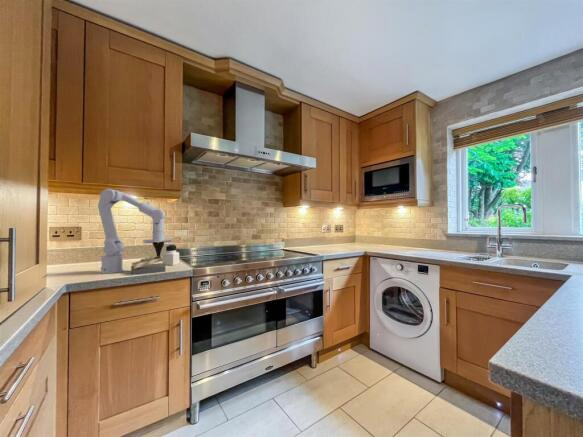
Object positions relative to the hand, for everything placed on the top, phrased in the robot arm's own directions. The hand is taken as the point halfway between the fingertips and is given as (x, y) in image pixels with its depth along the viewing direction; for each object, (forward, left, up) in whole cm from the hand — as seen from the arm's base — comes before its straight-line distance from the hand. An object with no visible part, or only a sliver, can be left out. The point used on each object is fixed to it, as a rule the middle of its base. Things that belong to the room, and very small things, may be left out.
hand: (158, 255), depth 143 cm
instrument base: (-5, 0, -8) cm, 9 cm away
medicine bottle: (+9, +15, -8) cm, 19 cm away
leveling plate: (-5, 0, -3) cm, 6 cm away
